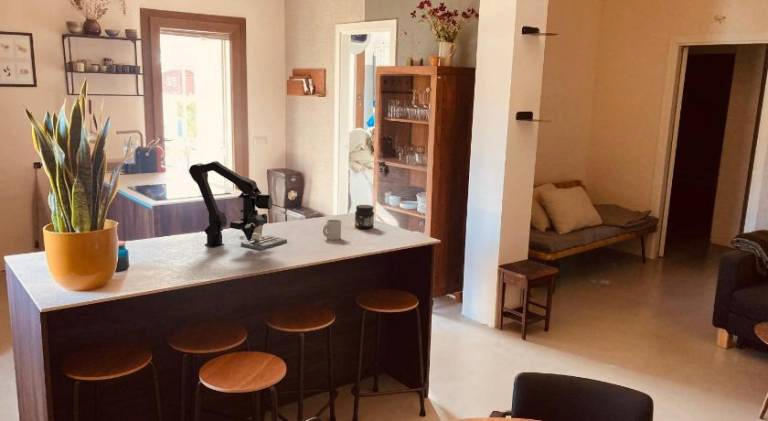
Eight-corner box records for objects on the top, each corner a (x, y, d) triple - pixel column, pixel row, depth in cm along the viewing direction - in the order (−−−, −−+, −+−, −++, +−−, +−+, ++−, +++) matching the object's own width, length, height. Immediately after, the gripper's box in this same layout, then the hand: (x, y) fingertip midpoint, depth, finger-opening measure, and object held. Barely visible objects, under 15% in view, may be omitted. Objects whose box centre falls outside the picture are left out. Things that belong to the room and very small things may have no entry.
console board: (259, 250, 280) (259, 245, 279) (240, 245, 286) (240, 241, 286) (286, 242, 296) (287, 238, 295) (268, 238, 302) (268, 234, 301)
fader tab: (258, 244, 284) (258, 234, 283) (251, 242, 287) (251, 233, 286) (261, 243, 286) (261, 233, 285) (254, 241, 288) (254, 232, 287)
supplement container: (353, 225, 337) (354, 204, 335) (371, 225, 339) (372, 204, 337) (355, 230, 327) (356, 208, 325) (375, 230, 329) (376, 208, 326)
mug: (261, 238, 300) (261, 219, 298) (236, 237, 301) (236, 217, 299) (265, 234, 309) (265, 215, 307) (240, 233, 309) (240, 214, 307)
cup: (343, 238, 307) (344, 221, 305) (326, 241, 301) (327, 223, 299) (335, 235, 313) (335, 219, 311) (319, 238, 306) (319, 221, 305)
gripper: (247, 213, 267) (247, 247, 270) (276, 207, 282) (275, 239, 285) (229, 209, 272) (229, 243, 276) (258, 203, 288) (258, 235, 291)
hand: (249, 240), depth 282 cm, fingers closed
